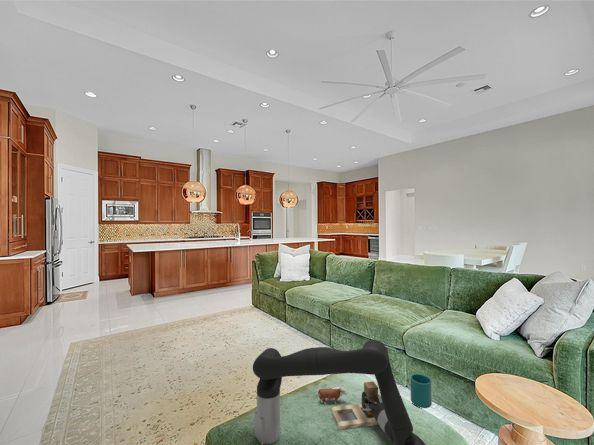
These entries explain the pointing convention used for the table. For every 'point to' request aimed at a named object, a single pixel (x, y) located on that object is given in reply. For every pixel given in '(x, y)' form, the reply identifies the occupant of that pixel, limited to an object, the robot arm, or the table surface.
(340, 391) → the bull figurine
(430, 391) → the cup
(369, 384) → the walnut block
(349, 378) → the table surface
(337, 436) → the table surface
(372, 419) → the puzzle board
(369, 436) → the table surface
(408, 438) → the robot arm
